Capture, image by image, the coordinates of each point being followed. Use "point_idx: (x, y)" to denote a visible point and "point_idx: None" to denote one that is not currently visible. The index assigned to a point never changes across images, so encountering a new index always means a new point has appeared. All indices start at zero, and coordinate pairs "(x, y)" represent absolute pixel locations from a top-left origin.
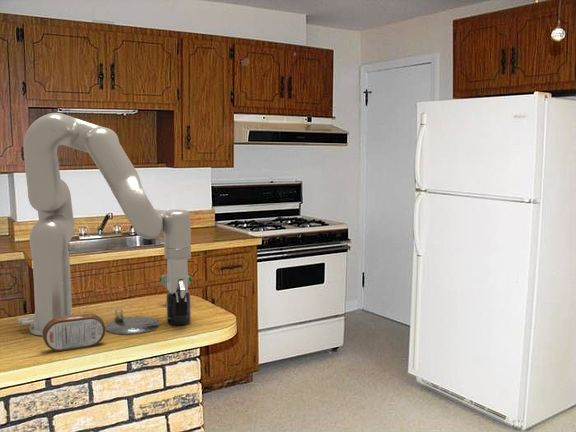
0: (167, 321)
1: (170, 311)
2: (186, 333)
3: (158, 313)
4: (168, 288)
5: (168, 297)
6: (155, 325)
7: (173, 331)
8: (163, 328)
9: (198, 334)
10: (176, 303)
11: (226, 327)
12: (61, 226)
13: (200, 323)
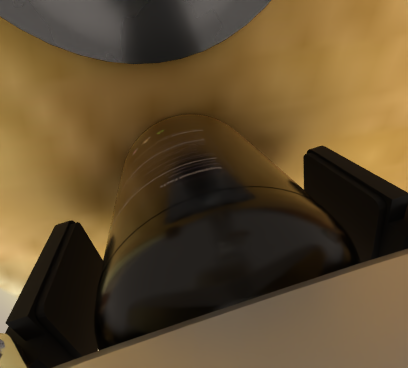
0: (167, 120)
1: (127, 180)
2: (8, 237)
3: (404, 23)
4: (252, 355)
5: (139, 247)
6: (90, 38)
7: (29, 169)
8: (81, 100)
9: (7, 284)
10: (18, 315)
11: None
12: None
13: None
